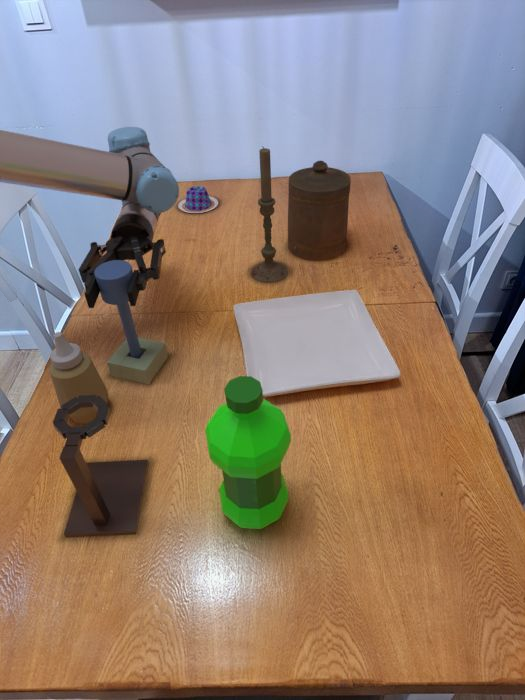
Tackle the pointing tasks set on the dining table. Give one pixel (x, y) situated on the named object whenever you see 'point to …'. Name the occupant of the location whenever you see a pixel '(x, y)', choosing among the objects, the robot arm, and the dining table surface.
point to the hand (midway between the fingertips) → (110, 300)
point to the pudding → (197, 200)
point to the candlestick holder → (267, 227)
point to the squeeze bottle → (75, 377)
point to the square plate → (312, 343)
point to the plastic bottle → (249, 454)
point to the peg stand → (98, 478)
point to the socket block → (138, 361)
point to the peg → (119, 297)
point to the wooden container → (318, 212)
